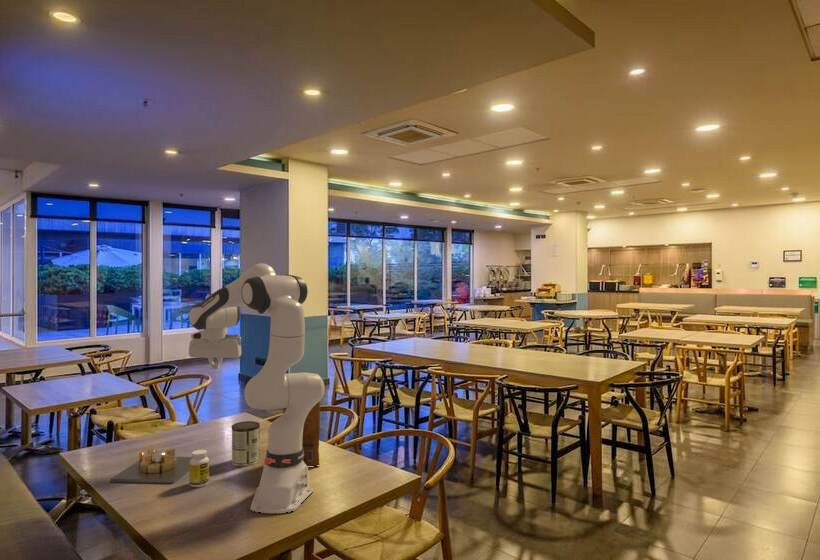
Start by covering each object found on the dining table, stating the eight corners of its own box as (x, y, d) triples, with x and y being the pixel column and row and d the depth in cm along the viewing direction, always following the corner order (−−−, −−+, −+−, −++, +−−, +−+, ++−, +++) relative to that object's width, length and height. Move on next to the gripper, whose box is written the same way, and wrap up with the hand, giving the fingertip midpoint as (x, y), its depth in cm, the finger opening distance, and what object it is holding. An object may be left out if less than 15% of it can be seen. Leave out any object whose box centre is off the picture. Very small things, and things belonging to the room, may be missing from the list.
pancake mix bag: (314, 471, 185) (314, 394, 185) (277, 461, 195) (277, 388, 195) (326, 465, 191) (327, 391, 190) (290, 455, 201) (290, 385, 201)
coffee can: (238, 456, 200) (238, 420, 200) (263, 457, 199) (263, 421, 199) (226, 465, 190) (226, 428, 190) (253, 466, 189) (253, 429, 189)
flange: (173, 483, 173) (173, 464, 173) (110, 482, 174) (110, 463, 174) (202, 460, 195) (202, 443, 195) (146, 459, 196) (146, 442, 196)
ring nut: (182, 465, 186) (182, 451, 186) (151, 475, 177) (151, 460, 177) (163, 458, 194) (163, 444, 194) (131, 467, 184) (131, 452, 184)
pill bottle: (201, 488, 169) (202, 455, 169) (185, 487, 171) (185, 454, 170) (212, 481, 175) (212, 449, 175) (196, 479, 177) (196, 448, 177)
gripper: (244, 333, 205) (243, 367, 205) (194, 332, 205) (194, 367, 206) (238, 335, 198) (238, 370, 199) (186, 334, 199) (186, 369, 199)
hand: (215, 368), depth 202 cm, fingers closed
